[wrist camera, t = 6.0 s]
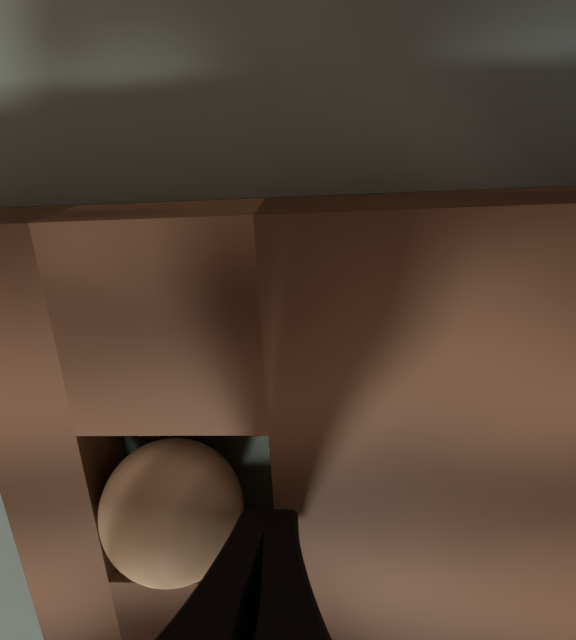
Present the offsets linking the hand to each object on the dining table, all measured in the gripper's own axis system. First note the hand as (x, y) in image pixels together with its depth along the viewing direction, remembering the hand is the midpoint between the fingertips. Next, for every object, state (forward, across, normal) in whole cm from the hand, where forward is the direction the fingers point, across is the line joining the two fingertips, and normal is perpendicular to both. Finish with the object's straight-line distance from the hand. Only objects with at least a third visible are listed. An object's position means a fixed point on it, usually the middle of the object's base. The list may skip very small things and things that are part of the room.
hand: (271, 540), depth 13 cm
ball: (+1, +3, 0) cm, 3 cm away
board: (+3, -4, 0) cm, 5 cm away
